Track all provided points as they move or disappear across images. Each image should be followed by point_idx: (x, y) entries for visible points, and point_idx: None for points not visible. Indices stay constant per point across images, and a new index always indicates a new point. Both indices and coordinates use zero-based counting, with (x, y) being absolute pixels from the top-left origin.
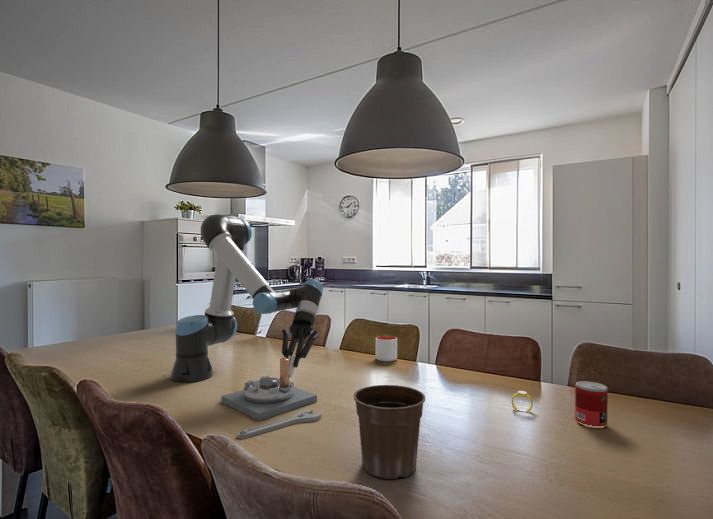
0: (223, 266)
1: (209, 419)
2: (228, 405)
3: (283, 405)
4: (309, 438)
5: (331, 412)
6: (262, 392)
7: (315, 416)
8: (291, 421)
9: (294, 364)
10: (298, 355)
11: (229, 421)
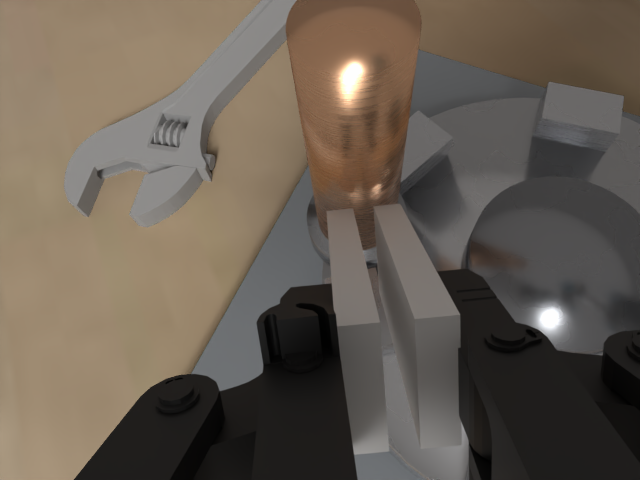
0: None
1: (626, 4)
2: None
3: None
4: (81, 6)
5: (30, 279)
6: (493, 137)
7: (89, 141)
8: (199, 71)
9: (312, 293)
10: (270, 366)
11: (514, 17)
